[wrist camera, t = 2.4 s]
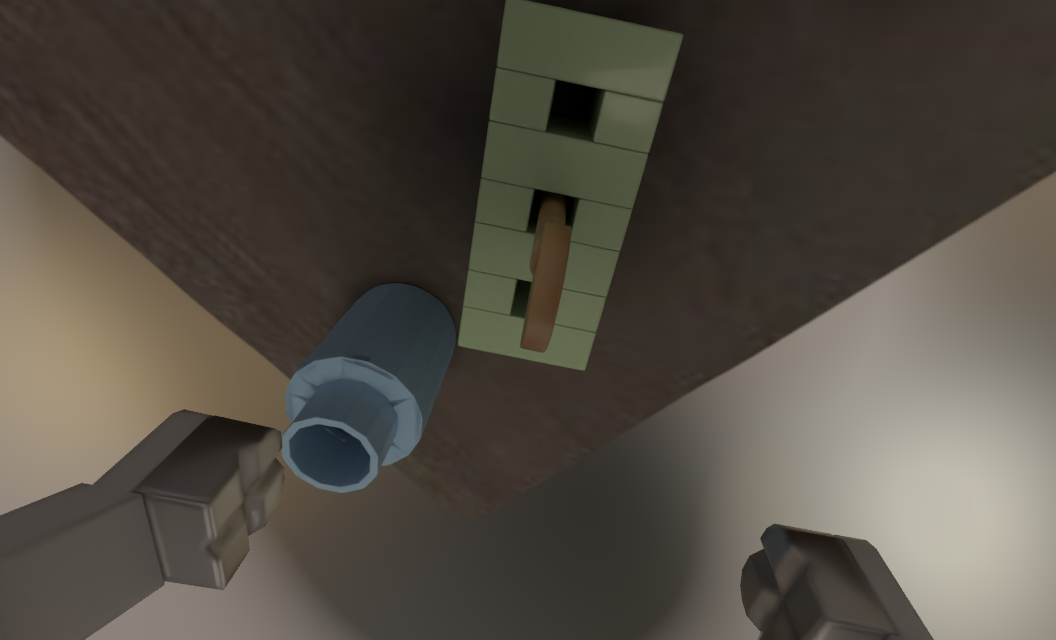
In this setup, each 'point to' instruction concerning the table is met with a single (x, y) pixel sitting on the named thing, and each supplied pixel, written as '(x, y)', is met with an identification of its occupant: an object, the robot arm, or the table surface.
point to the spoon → (546, 272)
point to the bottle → (368, 388)
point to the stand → (561, 169)
